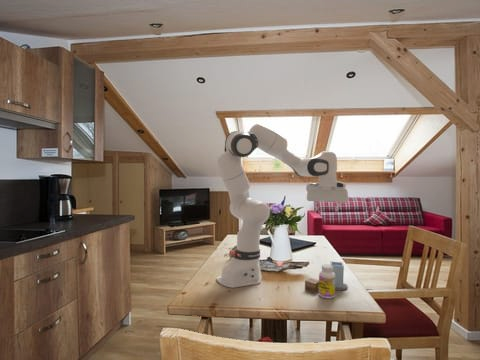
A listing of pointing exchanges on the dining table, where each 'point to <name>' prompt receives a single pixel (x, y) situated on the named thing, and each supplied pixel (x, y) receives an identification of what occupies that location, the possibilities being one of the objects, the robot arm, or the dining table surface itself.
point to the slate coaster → (341, 288)
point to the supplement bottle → (327, 282)
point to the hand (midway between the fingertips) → (326, 210)
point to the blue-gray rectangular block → (338, 273)
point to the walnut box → (312, 285)
